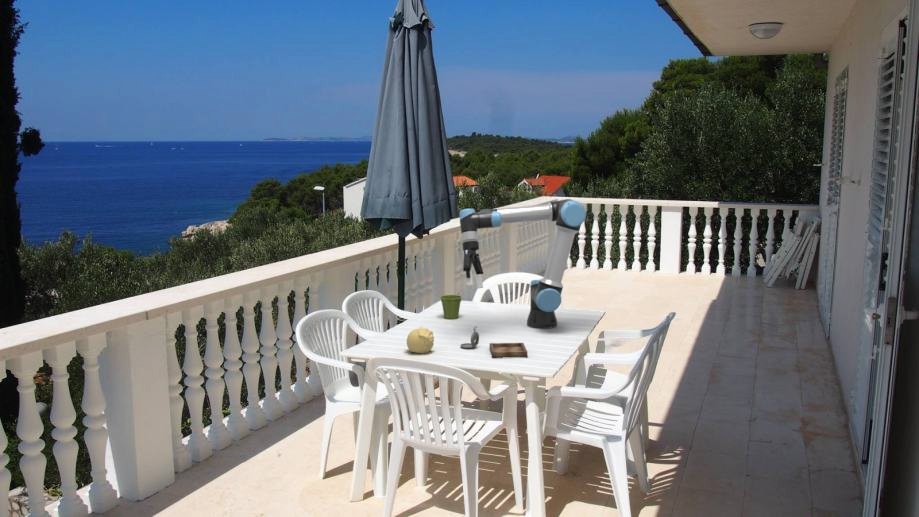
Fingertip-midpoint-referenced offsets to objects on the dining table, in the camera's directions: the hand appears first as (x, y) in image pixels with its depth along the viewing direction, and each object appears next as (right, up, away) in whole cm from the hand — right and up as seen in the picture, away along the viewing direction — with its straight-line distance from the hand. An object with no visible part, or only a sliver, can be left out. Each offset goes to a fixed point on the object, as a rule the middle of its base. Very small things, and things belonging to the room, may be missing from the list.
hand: (475, 286), depth 349 cm
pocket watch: (-3, -27, -12) cm, 30 cm away
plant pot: (-12, -18, +47) cm, 52 cm away
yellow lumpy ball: (-24, -28, -17) cm, 41 cm away
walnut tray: (+14, -28, -21) cm, 38 cm away
